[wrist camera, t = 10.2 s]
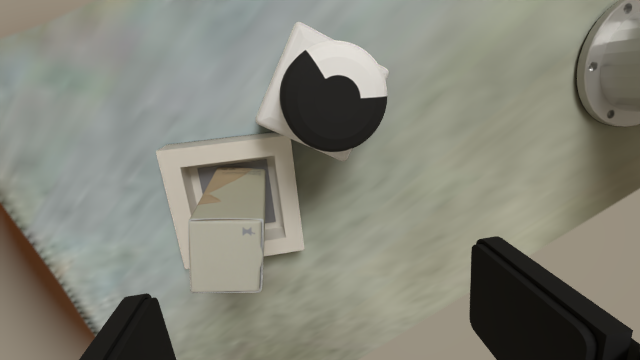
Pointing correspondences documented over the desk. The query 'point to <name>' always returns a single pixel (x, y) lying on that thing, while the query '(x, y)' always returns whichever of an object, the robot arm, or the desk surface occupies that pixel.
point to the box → (228, 233)
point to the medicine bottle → (324, 93)
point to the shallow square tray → (235, 152)
